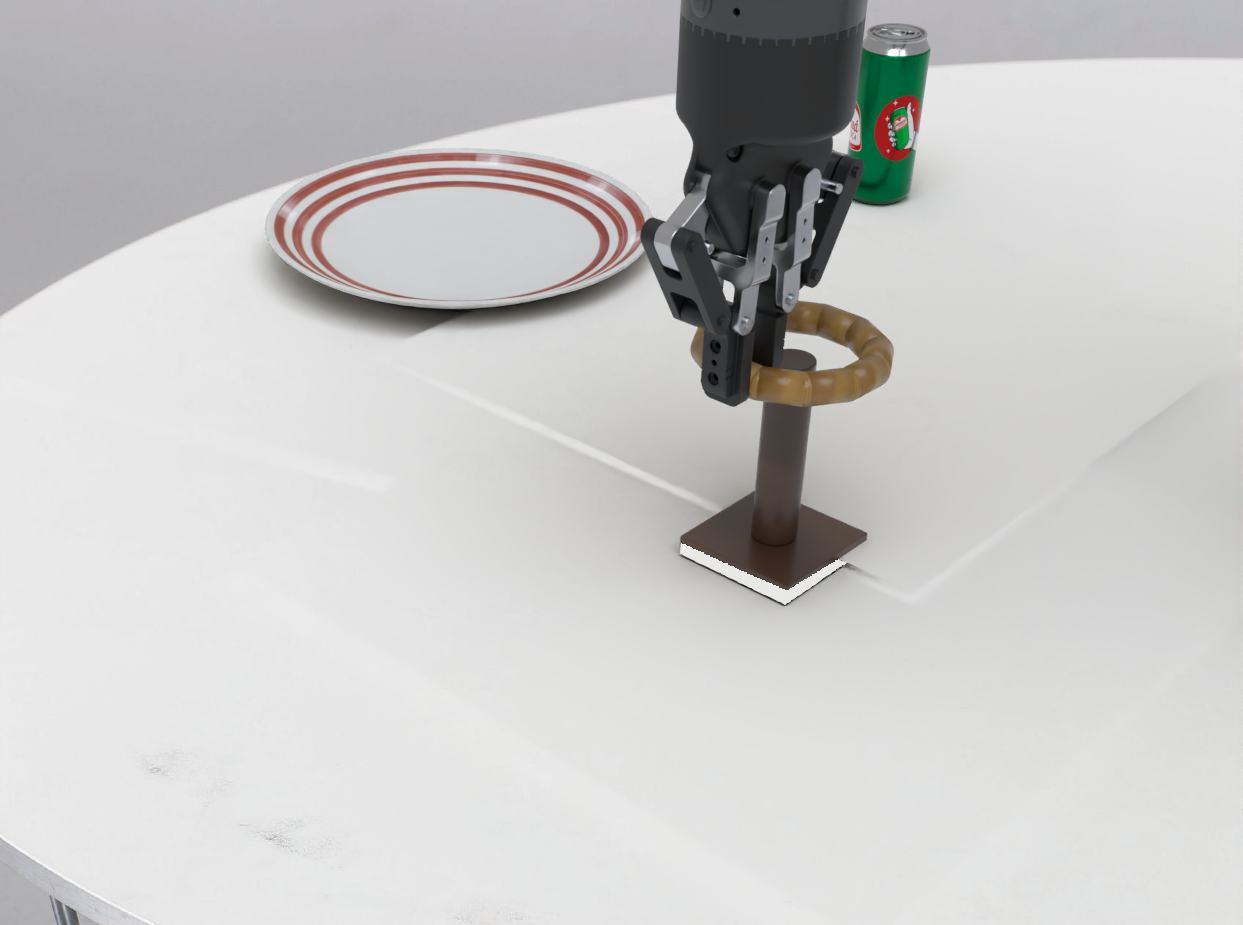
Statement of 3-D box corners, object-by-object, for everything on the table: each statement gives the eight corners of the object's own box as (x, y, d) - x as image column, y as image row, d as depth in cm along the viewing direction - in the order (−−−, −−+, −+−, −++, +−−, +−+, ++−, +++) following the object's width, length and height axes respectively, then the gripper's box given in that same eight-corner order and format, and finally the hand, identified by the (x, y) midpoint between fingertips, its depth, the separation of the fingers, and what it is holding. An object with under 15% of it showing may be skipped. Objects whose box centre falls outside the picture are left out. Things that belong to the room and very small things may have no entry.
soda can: (849, 179, 127) (868, 18, 120) (914, 186, 126) (937, 24, 119) (837, 202, 124) (856, 38, 116) (903, 210, 122) (927, 44, 115)
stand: (759, 504, 90) (777, 315, 83) (865, 551, 86) (893, 357, 79) (678, 555, 86) (690, 360, 79) (785, 606, 82) (807, 407, 75)
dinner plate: (711, 223, 121) (714, 178, 119) (545, 374, 102) (545, 325, 100) (395, 166, 131) (392, 124, 129) (192, 295, 112) (185, 248, 110)
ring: (771, 307, 84) (774, 278, 83) (928, 368, 79) (934, 337, 78) (651, 363, 79) (653, 332, 78) (811, 432, 74) (816, 400, 73)
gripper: (741, 61, 60) (711, 472, 71) (946, -15, 68) (890, 367, 79) (591, 22, 64) (584, 416, 75) (799, -46, 72) (766, 321, 83)
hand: (740, 389), depth 77 cm, fingers closed on ring, 2 cm apart
